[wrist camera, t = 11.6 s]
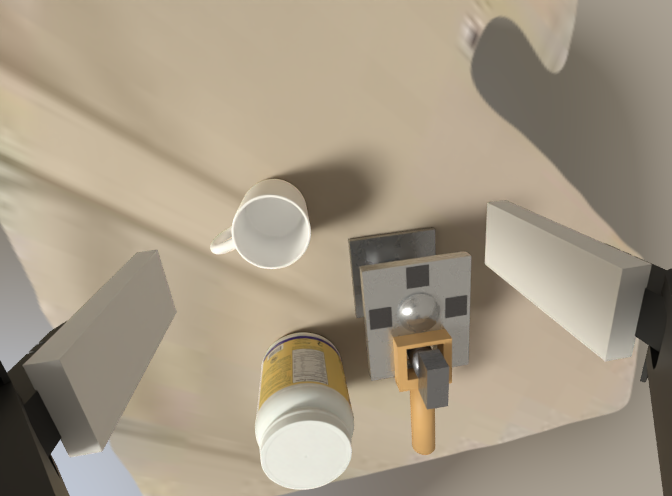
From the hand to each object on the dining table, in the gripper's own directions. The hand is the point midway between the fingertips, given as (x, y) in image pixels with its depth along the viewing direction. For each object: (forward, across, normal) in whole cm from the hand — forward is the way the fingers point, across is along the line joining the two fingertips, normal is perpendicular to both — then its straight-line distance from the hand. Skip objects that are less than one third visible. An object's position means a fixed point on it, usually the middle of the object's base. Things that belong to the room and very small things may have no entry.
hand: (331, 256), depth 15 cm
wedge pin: (+33, +11, -24) cm, 42 cm away
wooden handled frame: (+26, +11, -30) cm, 41 cm away
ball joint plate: (+34, +11, -19) cm, 41 cm away
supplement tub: (+34, -4, -31) cm, 47 cm away
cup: (+35, -6, -7) cm, 36 cm away
